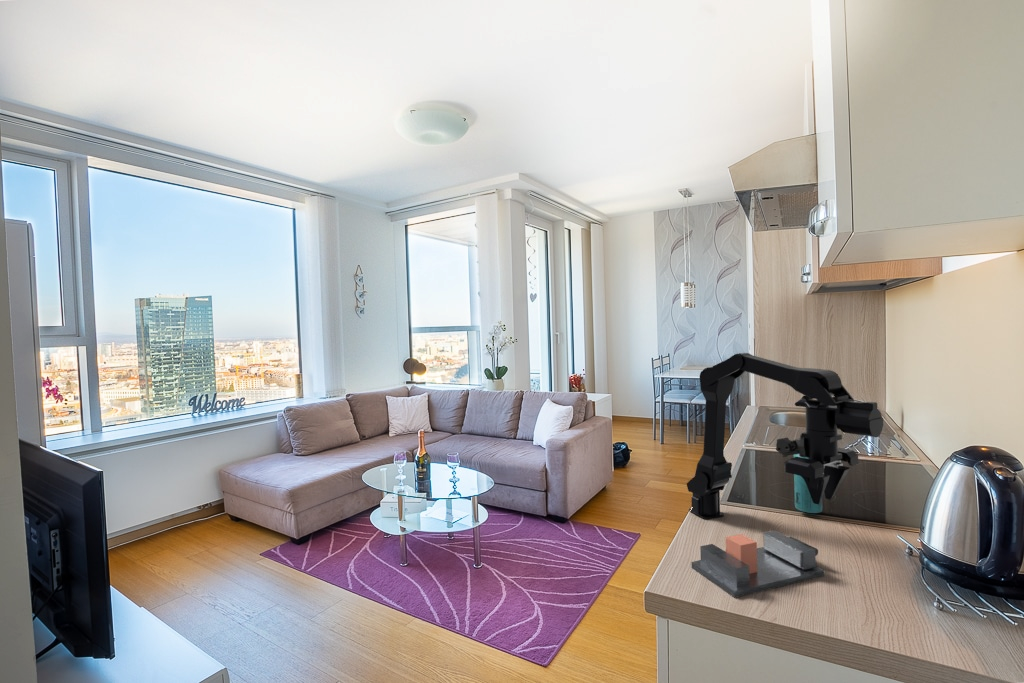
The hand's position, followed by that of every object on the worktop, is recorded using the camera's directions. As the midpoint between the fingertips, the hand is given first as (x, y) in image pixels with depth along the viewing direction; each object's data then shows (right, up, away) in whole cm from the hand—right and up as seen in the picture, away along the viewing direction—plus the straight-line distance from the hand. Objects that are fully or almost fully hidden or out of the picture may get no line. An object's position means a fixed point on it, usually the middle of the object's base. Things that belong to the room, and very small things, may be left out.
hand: (822, 501), depth 103 cm
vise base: (-17, -13, -5) cm, 22 cm away
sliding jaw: (-8, -11, -2) cm, 13 cm away
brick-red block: (-20, -12, -6) cm, 24 cm away
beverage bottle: (+11, -11, +23) cm, 28 cm away
